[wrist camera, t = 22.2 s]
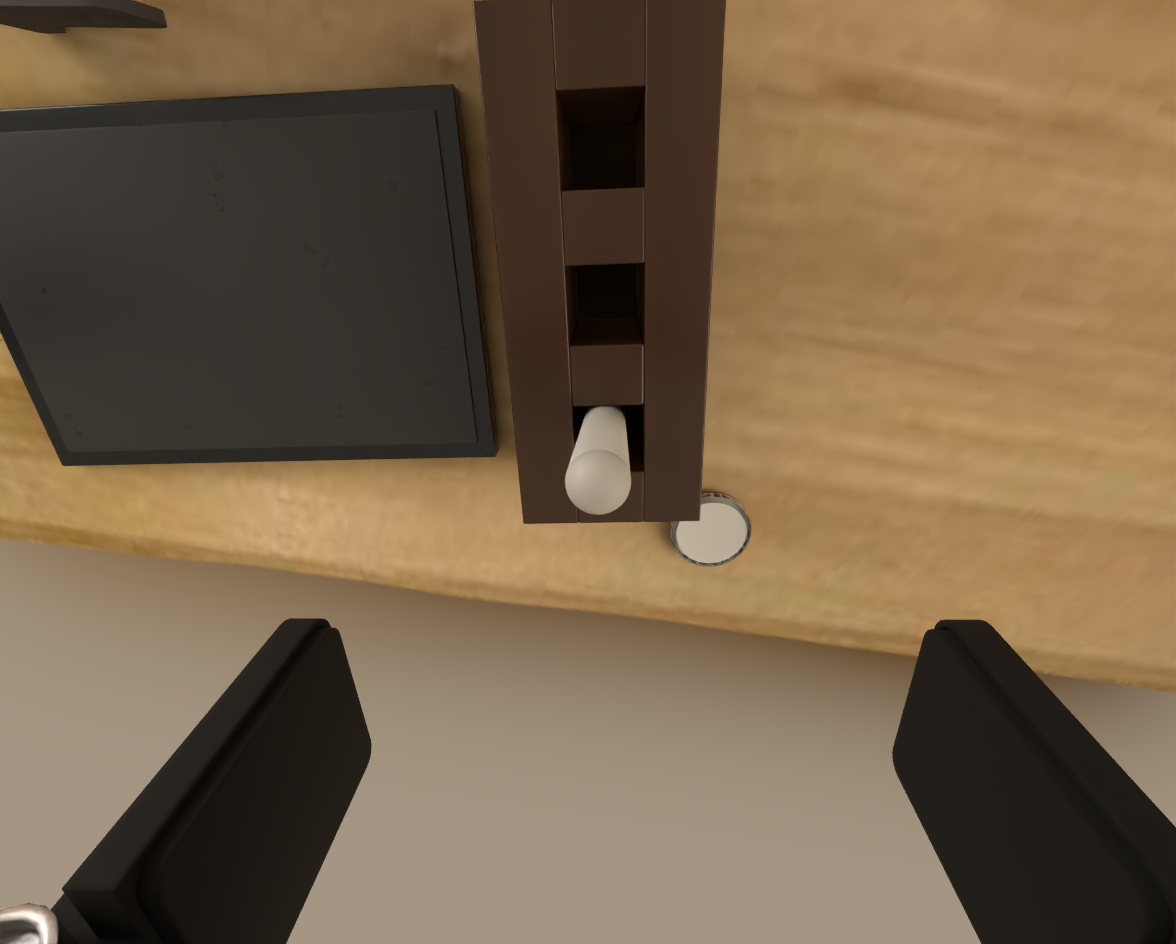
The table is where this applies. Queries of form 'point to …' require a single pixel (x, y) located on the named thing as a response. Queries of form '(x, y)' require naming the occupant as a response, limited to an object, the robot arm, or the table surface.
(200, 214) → the tablet
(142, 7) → the clip-on lamp
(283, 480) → the table surface
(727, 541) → the white flat rimmed disc
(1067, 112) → the table surface
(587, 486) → the stylus
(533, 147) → the pen rack
